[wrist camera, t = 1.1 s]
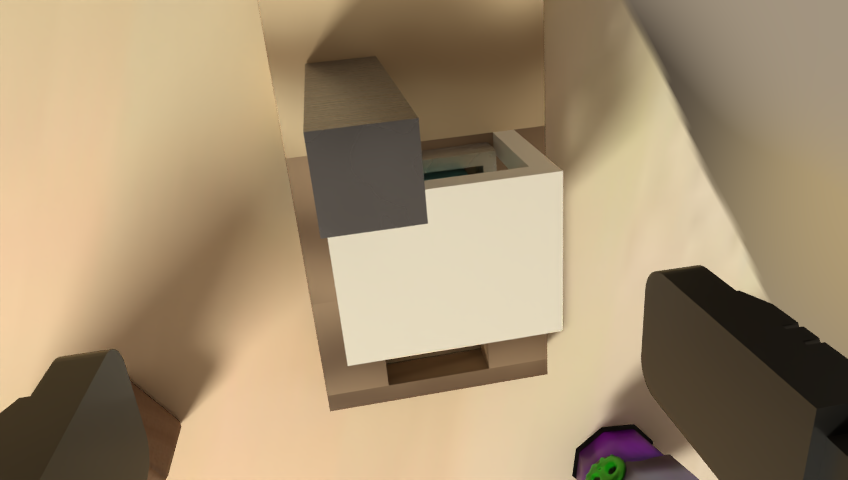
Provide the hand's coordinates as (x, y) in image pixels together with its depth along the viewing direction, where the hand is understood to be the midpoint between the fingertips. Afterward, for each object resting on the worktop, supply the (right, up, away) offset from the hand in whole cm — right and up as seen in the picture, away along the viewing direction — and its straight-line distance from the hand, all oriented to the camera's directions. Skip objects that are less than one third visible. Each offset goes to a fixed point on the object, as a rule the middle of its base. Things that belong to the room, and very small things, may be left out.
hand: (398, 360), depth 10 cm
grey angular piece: (0, +5, +20) cm, 21 cm away
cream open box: (0, +3, +21) cm, 21 cm away
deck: (0, +5, +23) cm, 23 cm away
